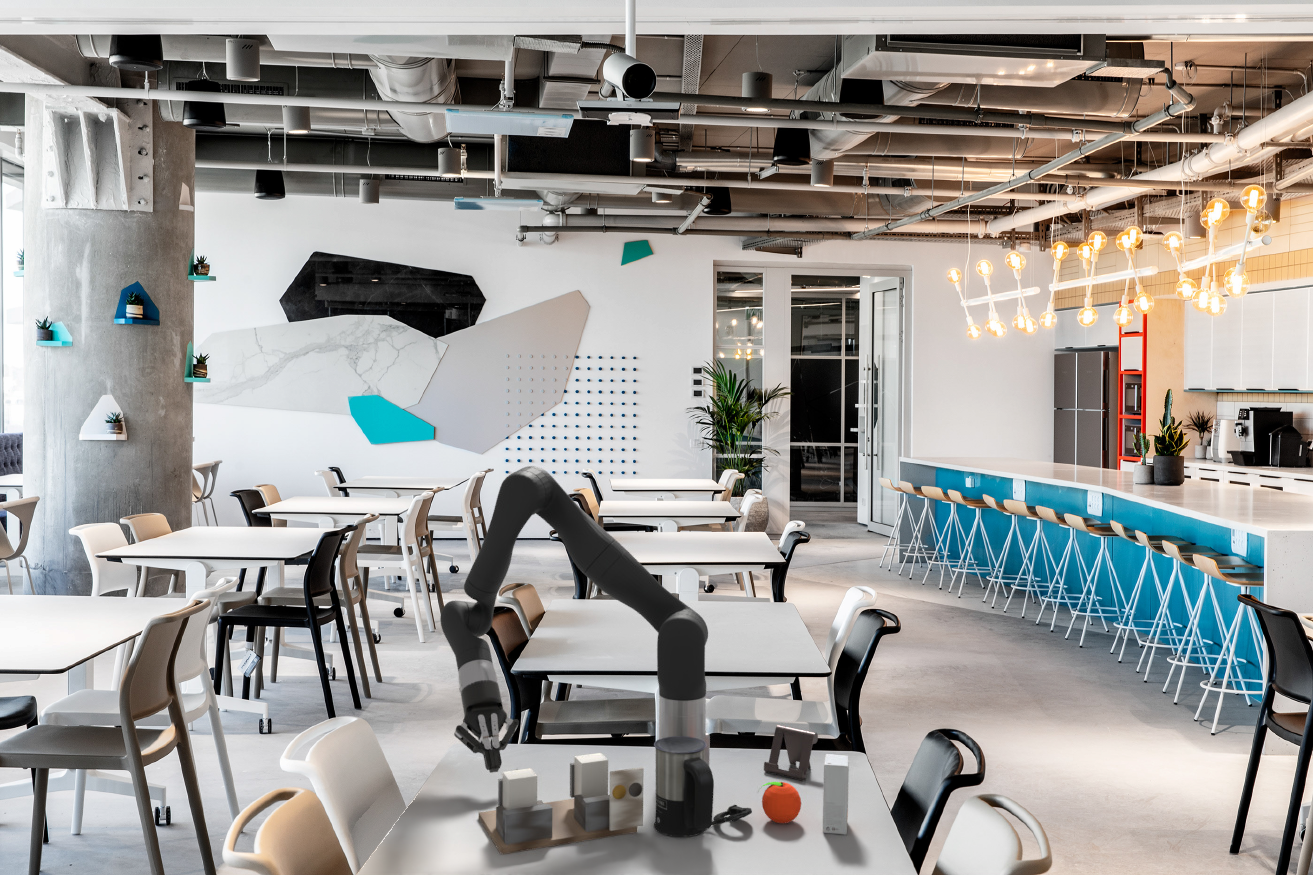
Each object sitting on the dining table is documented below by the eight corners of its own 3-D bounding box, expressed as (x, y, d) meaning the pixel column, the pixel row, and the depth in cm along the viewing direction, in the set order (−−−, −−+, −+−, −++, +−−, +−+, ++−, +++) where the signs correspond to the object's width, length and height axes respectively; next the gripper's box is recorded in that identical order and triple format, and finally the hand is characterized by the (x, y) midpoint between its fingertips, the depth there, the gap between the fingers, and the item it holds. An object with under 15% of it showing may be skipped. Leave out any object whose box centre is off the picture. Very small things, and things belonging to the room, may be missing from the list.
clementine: (751, 824, 181) (751, 785, 180) (761, 810, 187) (762, 772, 187) (795, 832, 178) (796, 791, 177) (805, 817, 184) (805, 778, 184)
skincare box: (847, 835, 176) (848, 766, 176) (822, 833, 177) (823, 764, 177) (848, 821, 182) (849, 754, 182) (823, 819, 183) (824, 752, 183)
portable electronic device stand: (762, 772, 207) (763, 731, 207) (781, 761, 213) (781, 722, 213) (802, 782, 202) (802, 739, 202) (819, 770, 208) (820, 729, 208)
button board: (610, 798, 192) (610, 740, 192) (643, 831, 177) (643, 768, 177) (478, 817, 182) (478, 756, 182) (501, 854, 167) (502, 788, 167)
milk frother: (642, 827, 179) (642, 743, 179) (701, 802, 191) (702, 723, 190) (703, 851, 169) (704, 762, 169) (762, 824, 181) (763, 741, 180)
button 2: (600, 799, 188) (601, 750, 188) (610, 809, 184) (610, 759, 183) (569, 803, 186) (570, 754, 186) (578, 813, 181) (578, 763, 181)
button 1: (531, 816, 180) (531, 765, 180) (539, 827, 175) (540, 775, 175) (498, 821, 178) (498, 770, 177) (505, 832, 173) (505, 779, 173)
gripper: (449, 681, 198) (463, 765, 187) (515, 675, 203) (533, 756, 193) (443, 701, 203) (456, 784, 192) (508, 694, 208) (524, 774, 198)
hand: (494, 770), depth 192 cm, fingers closed
